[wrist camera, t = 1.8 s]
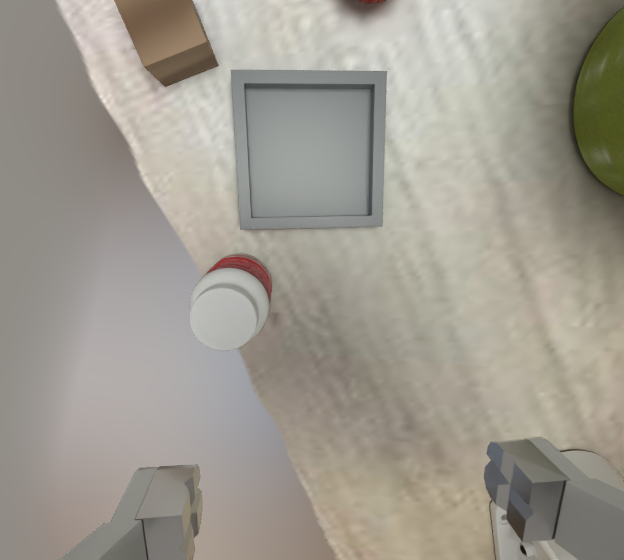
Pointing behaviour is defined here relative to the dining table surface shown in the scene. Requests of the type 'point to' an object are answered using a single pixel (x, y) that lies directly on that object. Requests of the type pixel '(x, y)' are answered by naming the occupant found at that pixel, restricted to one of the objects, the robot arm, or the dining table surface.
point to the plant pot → (603, 106)
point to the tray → (309, 148)
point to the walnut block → (168, 38)
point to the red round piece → (372, 1)
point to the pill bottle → (231, 302)
